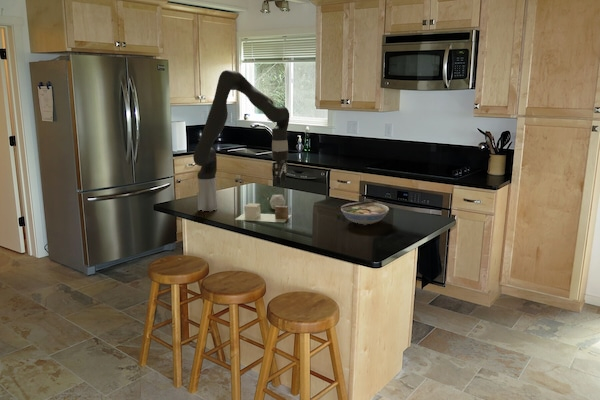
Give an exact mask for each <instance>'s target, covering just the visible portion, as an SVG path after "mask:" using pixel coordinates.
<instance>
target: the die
mask: <svg viewBox="0 0 600 400" xmlns="http://www.w3.org/2000/svg"><path fill="white" fill-rule="evenodd" d="M269 204H270V206H271V209H272V210H275V206H286V200H285V198H284V195H283V194H272V196H271V198H270V200H269Z"/></svg>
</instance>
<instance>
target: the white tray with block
mask: <svg viewBox="0 0 600 400" xmlns="http://www.w3.org/2000/svg"><path fill="white" fill-rule="evenodd" d="M291 216H292V214H289V206H288V205H285V206H275V209H274V214H273V213H261V216H259V217H258V218H257V219H253V218H245V212H243V213H242V214H241V215H239V216H238V217H236V218H235V219H234V220H236V221H253V222H266V223H267V222H268V223H269V222H271V223H272V222H273V223H285V222H287V220H288V219H289V218H291Z"/></svg>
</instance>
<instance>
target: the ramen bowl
mask: <svg viewBox="0 0 600 400" xmlns="http://www.w3.org/2000/svg"><path fill="white" fill-rule="evenodd" d="M377 202H378V200H376V199H370V200H366V201H361V202H352V203H351V202H349V203H346V204H343V205H341V206H340V207H335V210H338V209H340V211H341V212H342V215H344V217H345V218H346V219H348V220H349V221H350V222H353V223H355V224H357V223H358V224H357V225H359V224H363V225H362V226H368V225H367V224H370V225H372V224H375V223H378V222H380V221H381V220H382V219H384V217H386V215H387V214H388V213H389V211H390V208H389V207H388V206H386V205H385V204H382V203H377Z"/></svg>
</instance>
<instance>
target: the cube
mask: <svg viewBox="0 0 600 400" xmlns="http://www.w3.org/2000/svg"><path fill="white" fill-rule="evenodd" d="M244 213H245V218H253V219H257V218H258V217H259V216H261V214H262V213H261V203H250V202H249V203H247V204H246V205H244Z"/></svg>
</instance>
